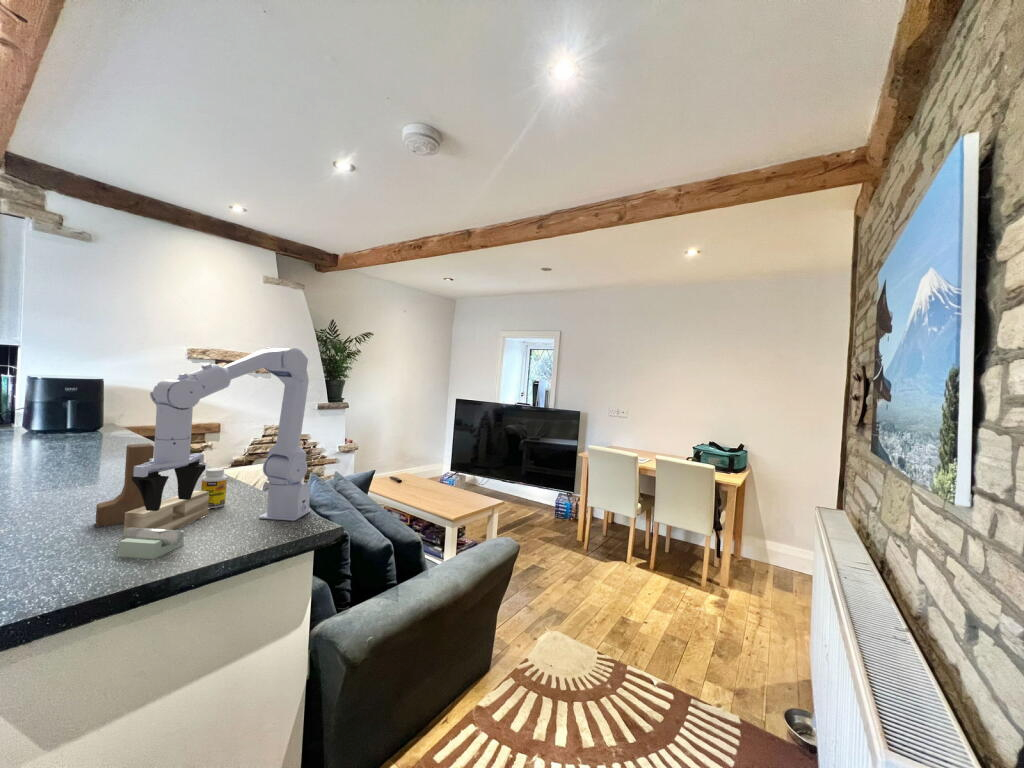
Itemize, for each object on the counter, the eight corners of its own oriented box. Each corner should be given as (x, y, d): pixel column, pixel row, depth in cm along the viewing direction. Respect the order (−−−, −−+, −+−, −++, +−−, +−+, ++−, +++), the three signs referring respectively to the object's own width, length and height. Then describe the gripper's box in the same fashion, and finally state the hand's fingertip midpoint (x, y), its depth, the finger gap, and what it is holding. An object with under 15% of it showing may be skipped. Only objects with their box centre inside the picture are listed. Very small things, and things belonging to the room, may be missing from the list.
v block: (183, 544, 86) (184, 530, 86) (153, 559, 79) (154, 543, 79) (150, 542, 86) (151, 528, 86) (118, 556, 79) (119, 541, 79)
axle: (181, 542, 84) (182, 528, 84) (170, 547, 81) (171, 533, 81) (134, 538, 84) (135, 525, 84) (121, 543, 81) (122, 529, 81)
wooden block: (96, 528, 92) (101, 448, 92) (95, 522, 95) (100, 445, 95) (149, 519, 99) (154, 445, 99) (146, 514, 102) (151, 443, 102)
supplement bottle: (201, 511, 107) (203, 472, 107) (198, 505, 111) (201, 468, 111) (227, 507, 110) (229, 470, 110) (223, 502, 114) (225, 466, 114)
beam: (207, 515, 103) (209, 491, 103) (141, 543, 85) (143, 513, 85) (192, 514, 103) (193, 490, 103) (123, 541, 85) (125, 512, 86)
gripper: (183, 432, 90) (179, 493, 90) (119, 441, 76) (114, 514, 76) (214, 434, 90) (210, 495, 90) (156, 444, 76) (152, 516, 76)
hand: (169, 504), depth 83 cm, fingers open, 7 cm apart
